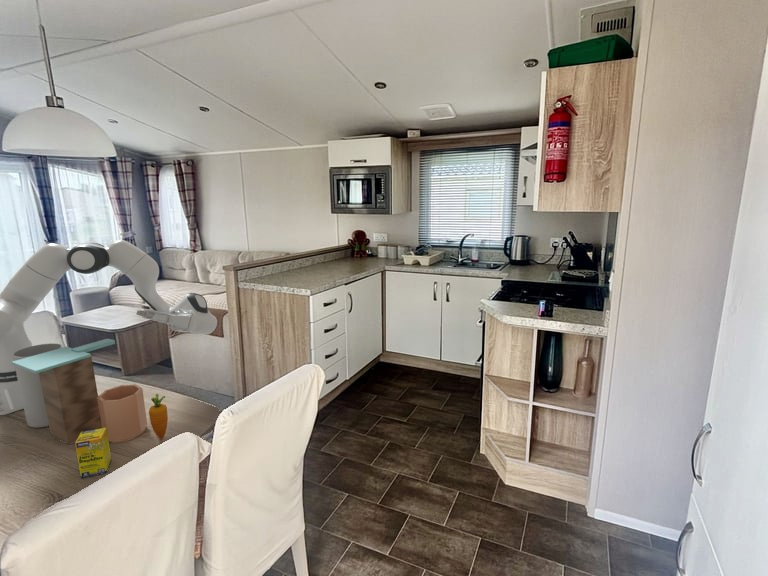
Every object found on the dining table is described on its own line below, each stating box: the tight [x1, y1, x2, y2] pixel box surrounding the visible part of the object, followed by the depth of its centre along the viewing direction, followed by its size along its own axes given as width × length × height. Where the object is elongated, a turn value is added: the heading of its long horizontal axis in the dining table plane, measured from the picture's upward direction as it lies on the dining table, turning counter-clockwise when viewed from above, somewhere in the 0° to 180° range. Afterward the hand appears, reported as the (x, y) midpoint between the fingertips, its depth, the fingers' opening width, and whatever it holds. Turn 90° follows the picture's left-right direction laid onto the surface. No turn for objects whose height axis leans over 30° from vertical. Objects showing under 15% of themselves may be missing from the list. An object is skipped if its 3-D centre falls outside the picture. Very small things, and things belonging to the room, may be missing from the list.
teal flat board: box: [11, 338, 116, 373], centre depth 123 cm, size 24×14×1 cm, turn 153°
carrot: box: [148, 393, 169, 440], centre depth 122 cm, size 5×5×15 cm
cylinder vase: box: [13, 342, 64, 429], centre depth 132 cm, size 12×12×25 cm
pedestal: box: [39, 356, 102, 446], centre depth 124 cm, size 10×10×26 cm
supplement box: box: [74, 427, 112, 479], centre depth 108 cm, size 6×6×11 cm
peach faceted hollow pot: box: [97, 383, 148, 444], centre depth 125 cm, size 11×11×14 cm
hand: (145, 314), depth 142 cm, fingers open, 8 cm apart
